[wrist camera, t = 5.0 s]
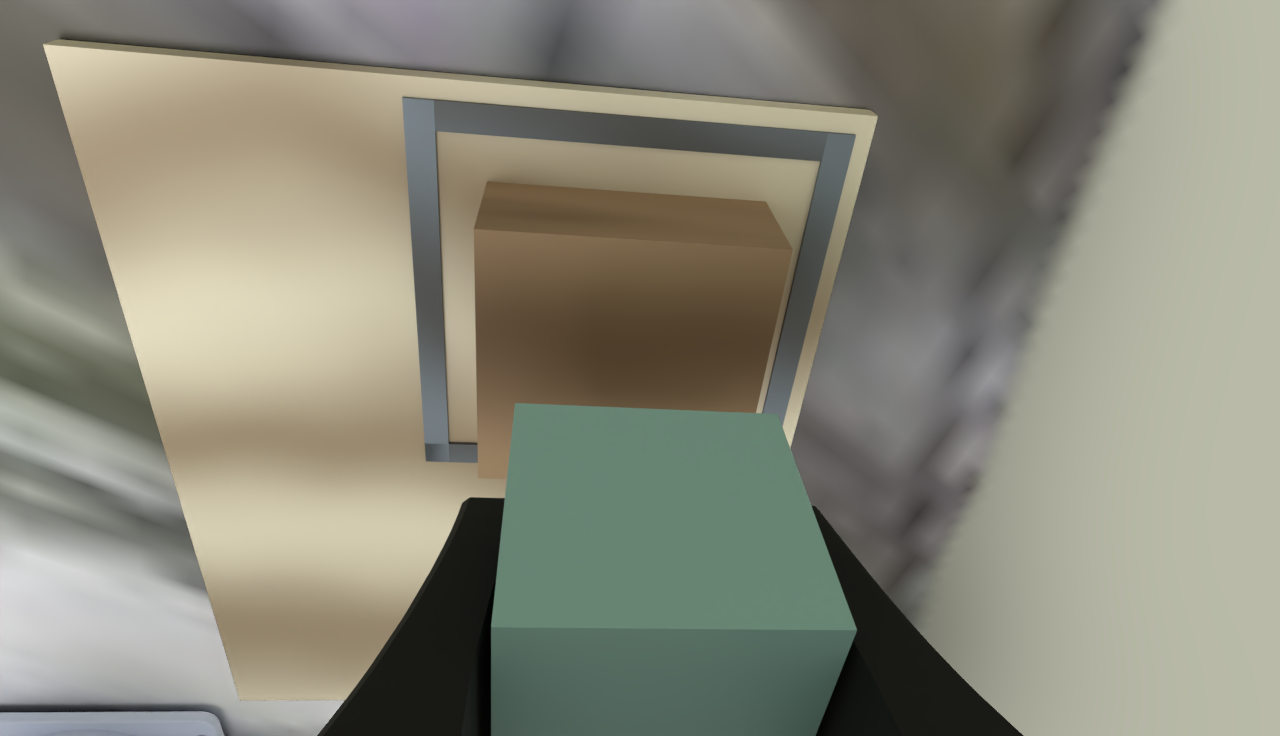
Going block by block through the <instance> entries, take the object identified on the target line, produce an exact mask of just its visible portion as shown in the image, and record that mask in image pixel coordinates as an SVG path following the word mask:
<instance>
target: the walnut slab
mask: <svg viewBox="0 0 1280 736" xmlns="http://www.w3.org/2000/svg"><path fill="white" fill-rule="evenodd" d="M792 251H793V249H792V247H791V245H790V244H789V242H788V240H787V238H786V237H785V235H784V233H783V231H782V229H781V228H780V226H779V224H778V222H777V221H776V219H775V217H774V215H773V213H772V212H771V210H770V208H769V206H768V204H767V203H766V201H752V200H738V199H724V198H710V197H696V196H682V195H668V194H654V193H640V192H626V191H612V190H599V189H585V188H571V187H557V186H543V185H529V184H515V183H501V182H486V186H485V190H484V193H483V197H482V201H481V204H480V208H479V212H478V215H477V219H476V223H475V226H474V273H475V330H476V387H477V444H478V478H483V479H507V473H508V464H509V454H510V445H511V436H512V426H513V417H514V408H515V403H526V404H550V405H574V406H598V407H622V408H645V409H669V410H693V411H717V412H741V413H756V411H757V406H758V402H759V397H760V393H761V388H762V384H763V380H764V375H765V371H766V366H767V362H768V358H769V353H770V349H771V344H772V340H773V335H774V331H775V327H776V322H777V318H778V313H779V309H780V304H781V300H782V296H783V291H784V287H785V282H786V278H787V274H788V269H789V265H790V260H791V256H792Z"/></svg>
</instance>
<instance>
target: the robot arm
mask: <svg viewBox="0 0 1280 736" xmlns="http://www.w3.org/2000/svg"><path fill="white" fill-rule="evenodd" d="M504 501H505V498H481V497H469V498H468V499H467V500H465V501H464V502H463V503H462V504H461V507H460V510H459V513H458V515H457V518H456V520H455V523H454V525H453V527H452V529H451V532H450V534H449V536H448V538H447V540H446V542H445V544H444V546H443V548H442V550H441V552H440V554H439V556H438V558H437V560H436V561H435V563H434V565H433V567H432V569H431V571H430V573H429V574H428V576H427V578H426V579H425V581H424V583H423V585H422V586H421V588H420V590H419V591H418V593H417V595H416V596H415V598H414V600H413V602H412V603H411V605H410V607H409V608H408V610H407V612H406V613H405V615H404V616H403V618H402V620H401V621H400V623H399V624H398V626H397V627H396V629H395V630H394V632H393V633H392V635H391V636H390V638H389V639H388V641H387V642H386V644H385V645H384V647H383V648H382V650H381V651H380V653H379V654H378V656H377V657H376V659H375V660H374V661H373V663H372V664H371V666H370V667H369V669H368V670H367V671H366V673H365V674H364V676H363V677H362V678H361V680H360V681H359V682H358V684H357V685H356V687H355V688H354V689H353V691H352V692H351V693H350V695H349V696H348V697H347V699H346V700H345V701H344V703H343V704H342V705H341V706H340V708H339V709H338V710H337V711H336V713H335V714H334V715H333V717H332V718H331V719H330V720H329V722H328V723H327V724H326V725H325V727H324V728H323V729H322V730H321V732H320V733H319V734H318V735H317V736H491V623H492V613H493V604H494V595H495V585H496V576H497V567H498V557H499V548H500V539H501V529H502V520H503V510H504ZM812 509H813V512H814V514H815V517H816V520H817V523H818V525H819V528H820V531H821V533H822V536H823V539H824V542H825V544H826V547H827V550H828V552H829V555H830V558H831V561H832V563H833V566H834V569H835V571H836V574H837V577H838V580H839V582H840V585H841V588H842V590H843V593H844V596H845V599H846V601H847V604H848V607H849V609H850V612H851V615H852V618H853V620H854V623H855V626H856V628H857V632H856V635H855V637H854V640H853V642H852V645H851V647H850V650H849V652H848V655H847V657H846V660H845V662H844V665H843V667H842V670H841V672H840V675H839V678H838V680H837V683H836V685H835V688H834V690H833V693H832V695H831V698H830V700H829V703H828V705H827V708H826V710H825V713H824V715H823V718H822V721H821V723H820V726H819V728H818V731H817V733H816V736H1023V735H1022V734H1021V733H1020V732H1019V731H1018V730H1017V729H1015V728H1014V727H1013V726H1012V725H1011V724H1010V723H1009V722H1008V721H1007V720H1006V719H1005V718H1004V717H1003V716H1002V715H1000V714H999V713H998V712H997V711H996V710H995V709H994V708H993V707H992V706H991V705H990V704H989V703H988V702H986V701H985V700H984V699H983V698H982V697H981V696H980V695H979V694H978V693H977V692H976V691H975V690H974V689H973V688H972V687H971V686H970V685H969V684H968V683H967V682H966V681H965V680H964V679H963V678H962V677H961V676H960V675H959V674H958V673H957V672H956V671H955V670H954V669H953V668H952V667H951V666H950V665H949V664H948V663H947V662H946V661H945V660H944V659H943V658H942V656H940V654H939V653H938V652H937V651H936V650H935V649H934V648H933V647H932V646H931V645H930V644H929V643H928V642H927V640H926V639H925V638H924V637H923V636H922V635H921V634H920V633H919V632H918V630H917V629H916V628H915V627H914V626H913V625H912V624H911V623H910V621H909V620H908V619H907V618H906V617H905V616H904V614H903V613H902V612H901V611H900V610H899V609H898V607H897V606H896V605H895V604H894V603H893V602H892V600H891V599H890V598H889V597H888V596H887V595H886V593H885V592H884V591H883V590H882V589H881V587H880V586H879V585H878V584H877V583H876V581H875V580H874V579H873V578H872V577H871V575H870V574H869V573H868V572H867V570H866V569H865V568H864V567H863V565H862V564H861V563H860V562H859V560H858V559H857V558H856V557H855V555H854V554H853V553H852V552H851V550H850V549H849V548H848V547H847V545H846V544H845V543H844V542H843V540H842V539H841V538H840V537H839V535H838V534H837V533H836V531H835V530H834V529H833V528H832V526H831V525H830V524H829V523H828V521H827V520H826V519H825V518H824V516H823V515H822V514H821V513H820V511H819V510H818V509H817V508H816V507H815V506H812ZM0 736H224V733H223V730H222V727H221V724H220V721H219V719H218V718H217V717H216V716H215V715H214V714H212V713H209V712H202V711H181V712H0Z"/></svg>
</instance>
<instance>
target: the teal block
mask: <svg viewBox="0 0 1280 736" xmlns="http://www.w3.org/2000/svg"><path fill="white" fill-rule="evenodd" d="M856 632H857V628H856V626H855V623H854V620H853V618H852V615H851V612H850V609H849V607H848V604H847V601H846V599H845V596H844V593H843V590H842V588H841V585H840V582H839V580H838V577H837V574H836V571H835V569H834V566H833V563H832V561H831V558H830V555H829V552H828V550H827V547H826V544H825V542H824V539H823V536H822V533H821V531H820V528H819V525H818V523H817V520H816V517H815V514H814V512H813V509H812V506H811V504H810V501H809V498H808V495H807V493H806V490H805V487H804V484H803V482H802V479H801V476H800V474H799V471H798V468H797V465H796V463H795V460H794V457H793V455H792V452H791V449H790V446H789V444H788V441H787V438H786V436H785V433H784V430H783V427H782V425H781V422H780V419H779V417H778V414H764V413H741V412H717V411H693V410H669V409H645V408H622V407H598V406H574V405H550V404H526V403H515V408H514V417H513V426H512V436H511V445H510V454H509V464H508V473H507V482H506V492H505V501H504V510H503V520H502V529H501V539H500V548H499V557H498V567H497V576H496V585H495V595H494V604H493V613H492V623H491V736H816V733H817V731H818V728H819V726H820V723H821V721H822V718H823V715H824V713H825V710H826V708H827V705H828V703H829V700H830V698H831V695H832V693H833V690H834V688H835V685H836V683H837V680H838V678H839V675H840V672H841V670H842V667H843V665H844V662H845V660H846V657H847V655H848V652H849V650H850V647H851V645H852V642H853V640H854V637H855V635H856Z"/></svg>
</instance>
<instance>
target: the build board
mask: <svg viewBox="0 0 1280 736" xmlns="http://www.w3.org/2000/svg"><path fill="white" fill-rule="evenodd" d="M43 46H44V49H45V52H46V56H47V59H48V62H49V66H50V69H51V72H52V76H53V79H54V82H55V86H56V89H57V92H58V96H59V99H60V102H61V106H62V109H63V112H64V116H65V119H66V122H67V126H68V129H69V132H70V136H71V139H72V142H73V146H74V149H75V152H76V156H77V159H78V162H79V166H80V169H81V172H82V176H83V179H84V182H85V186H86V189H87V192H88V196H89V199H90V202H91V206H92V209H93V212H94V216H95V219H96V222H97V226H98V229H99V232H100V236H101V239H102V242H103V246H104V249H105V252H106V256H107V259H108V262H109V266H110V269H111V272H112V276H113V279H114V282H115V286H116V289H117V292H118V296H119V299H120V302H121V306H122V309H123V312H124V316H125V319H126V322H127V326H128V329H129V332H130V336H131V339H132V342H133V346H134V349H135V352H136V356H137V359H138V362H139V366H140V369H141V372H142V376H143V379H144V382H145V386H146V389H147V392H148V396H149V399H150V402H151V406H152V409H153V412H154V416H155V419H156V422H157V426H158V429H159V432H160V436H161V439H162V442H163V446H164V449H165V452H166V456H167V459H168V462H169V466H170V469H171V472H172V476H173V479H174V482H175V486H176V489H177V492H178V496H179V499H180V502H181V506H182V509H183V512H184V516H185V519H186V522H187V526H188V529H189V532H190V536H191V539H192V542H193V546H194V549H195V552H196V556H197V559H198V562H199V566H200V569H201V572H202V576H203V579H204V582H205V586H206V589H207V592H208V596H209V599H210V602H211V606H212V609H213V612H214V616H215V619H216V622H217V626H218V629H219V632H220V636H221V639H222V642H223V646H224V649H225V652H226V656H227V659H228V662H229V666H230V669H231V672H232V676H233V679H234V682H235V686H236V689H237V692H238V696H239V699H240V700H346V699H347V697H348V696H349V695H350V693H351V692H352V691H353V689H354V688H355V687H356V685H357V684H358V682H359V681H360V680H361V678H362V677H363V676H364V674H365V673H366V671H367V670H368V669H369V667H370V666H371V664H372V663H373V661H374V660H375V659H376V657H377V656H378V654H379V653H380V651H381V650H382V648H383V647H384V645H385V644H386V642H387V641H388V639H389V638H390V636H391V635H392V633H393V632H394V630H395V629H396V627H397V626H398V624H399V623H400V621H401V620H402V618H403V616H404V615H405V613H406V612H407V610H408V608H409V607H410V605H411V603H412V602H413V600H414V598H415V596H416V595H417V593H418V591H419V590H420V588H421V586H422V585H423V583H424V581H425V579H426V578H427V576H428V574H429V573H430V571H431V569H432V567H433V565H434V563H435V561H436V560H437V558H438V556H439V554H440V552H441V550H442V548H443V546H444V544H445V542H446V540H447V538H448V536H449V534H450V532H451V529H452V527H453V525H454V523H455V520H456V518H457V515H458V513H459V510H460V507H461V504H462V503H463V502H464V501H465V500H467V499H468V498H469V497H481V498H505V492H506V482H507V479H483V478H478V444H477V387H476V330H475V273H474V226H475V223H476V219H477V215H478V212H479V208H480V204H481V201H482V197H483V193H484V190H485V186H486V182H501V183H515V184H529V185H543V186H557V187H571V188H585V189H599V190H612V191H626V192H640V193H654V194H668V195H682V196H696V197H710V198H724V199H738V200H752V201H766V203H767V204H768V206H769V208H770V210H771V212H772V213H773V215H774V217H775V219H776V221H777V222H778V224H779V226H780V228H781V229H782V231H783V233H784V235H785V237H786V238H787V240H788V242H789V244H790V245H791V247H792V249H793V251H792V256H791V260H790V265H789V269H788V274H787V278H786V282H785V287H784V291H783V296H782V300H781V304H780V309H779V313H778V318H777V322H776V327H775V331H774V335H773V340H772V344H771V349H770V353H769V358H768V362H767V366H766V371H765V375H764V380H763V384H762V388H761V393H760V397H759V402H758V406H757V411H756V413H764V414H778V417H779V419H780V422H781V425H782V427H783V430H784V433H785V436H786V438H787V441H788V444H789V446H790V448H791V444H792V440H793V436H794V432H795V429H796V425H797V421H798V417H799V414H800V410H801V406H802V402H803V398H804V395H805V391H806V387H807V383H808V379H809V376H810V372H811V368H812V364H813V361H814V357H815V353H816V349H817V345H818V342H819V338H820V334H821V330H822V327H823V323H824V319H825V315H826V311H827V308H828V304H829V300H830V296H831V292H832V289H833V285H834V281H835V277H836V274H837V270H838V266H839V262H840V258H841V255H842V251H843V247H844V243H845V240H846V236H847V232H848V228H849V224H850V221H851V217H852V213H853V209H854V206H855V202H856V198H857V194H858V190H859V187H860V183H861V179H862V175H863V171H864V168H865V164H866V160H867V156H868V153H869V149H870V145H871V141H872V137H873V134H874V130H875V126H876V122H877V119H878V116H877V115H876V114H875V113H874V112H872V111H871V110H867V109H855V108H844V107H832V106H821V105H809V104H798V103H786V102H775V101H763V100H752V99H740V98H729V97H717V96H706V95H694V94H683V93H671V92H660V91H648V90H637V89H625V88H614V87H602V86H591V85H579V84H568V83H556V82H545V81H533V80H522V79H510V78H499V77H487V76H476V75H464V74H453V73H441V72H430V71H418V70H407V69H395V68H384V67H372V66H361V65H349V64H338V63H326V62H315V61H303V60H292V59H280V58H269V57H258V56H246V55H235V54H223V53H212V52H200V51H189V50H177V49H166V48H154V47H143V46H131V45H120V44H108V43H97V42H85V41H74V40H62V39H57V40H54V41H52V42H49V43H46V44H43Z"/></svg>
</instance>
